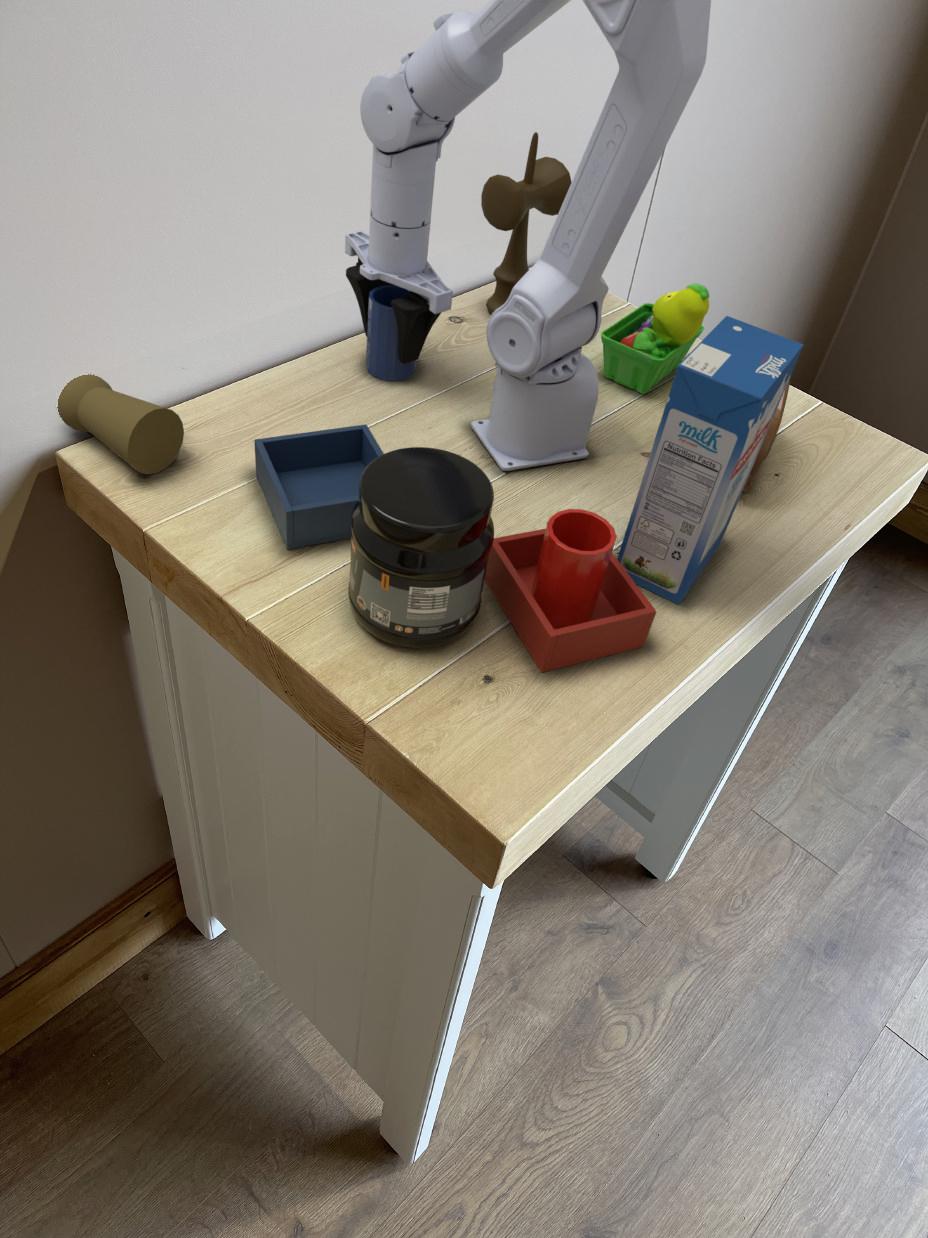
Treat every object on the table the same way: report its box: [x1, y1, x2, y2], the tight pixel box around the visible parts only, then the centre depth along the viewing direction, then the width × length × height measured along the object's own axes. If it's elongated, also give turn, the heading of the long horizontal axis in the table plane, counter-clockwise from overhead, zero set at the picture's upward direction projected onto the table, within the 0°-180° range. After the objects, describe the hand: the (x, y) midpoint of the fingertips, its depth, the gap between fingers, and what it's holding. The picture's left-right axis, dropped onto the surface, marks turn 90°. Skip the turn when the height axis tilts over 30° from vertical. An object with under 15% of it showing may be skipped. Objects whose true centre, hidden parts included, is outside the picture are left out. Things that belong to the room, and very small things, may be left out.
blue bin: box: [253, 423, 384, 550], centre depth 79 cm, size 10×10×4 cm
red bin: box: [484, 527, 657, 673], centre depth 73 cm, size 9×11×4 cm
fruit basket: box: [600, 283, 710, 395], centre depth 99 cm, size 11×9×11 cm
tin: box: [742, 380, 791, 493], centre depth 90 cm, size 15×3×8 cm, turn 159°
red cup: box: [531, 508, 617, 629], centre depth 71 cm, size 5×5×8 cm
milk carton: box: [616, 315, 804, 606], centre depth 74 cm, size 10×6×20 cm, turn 148°
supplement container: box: [347, 446, 495, 649], centre depth 69 cm, size 10×10×12 cm
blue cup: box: [365, 285, 417, 382], centre depth 95 cm, size 5×5×8 cm
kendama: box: [480, 131, 572, 314], centre depth 102 cm, size 6×10×20 cm, turn 139°
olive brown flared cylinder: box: [56, 373, 185, 475], centre depth 81 cm, size 6×6×11 cm
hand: (391, 347), depth 96 cm, fingers closed on blue cup, 5 cm apart
